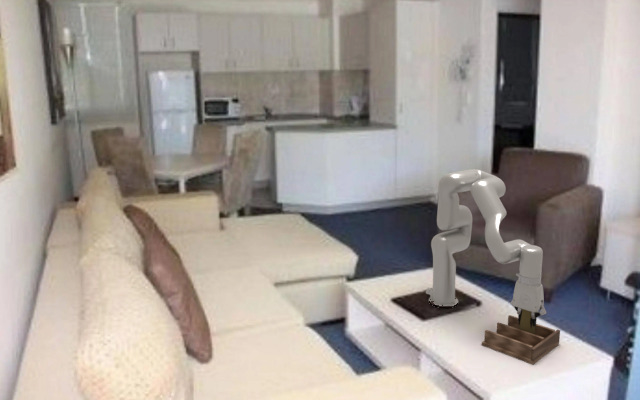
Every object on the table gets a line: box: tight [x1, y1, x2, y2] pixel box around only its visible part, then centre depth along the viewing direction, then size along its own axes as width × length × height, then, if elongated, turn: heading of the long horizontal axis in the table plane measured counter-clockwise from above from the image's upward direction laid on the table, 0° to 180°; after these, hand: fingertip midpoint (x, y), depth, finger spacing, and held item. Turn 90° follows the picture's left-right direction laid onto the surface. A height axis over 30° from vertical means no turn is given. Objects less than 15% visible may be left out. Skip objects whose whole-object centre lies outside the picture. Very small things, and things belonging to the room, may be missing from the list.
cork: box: [518, 309, 535, 334], centre depth 211 cm, size 6×6×11 cm
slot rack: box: [481, 315, 561, 365], centre depth 210 cm, size 20×20×6 cm
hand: (526, 325), depth 212 cm, fingers closed on cork, 3 cm apart
